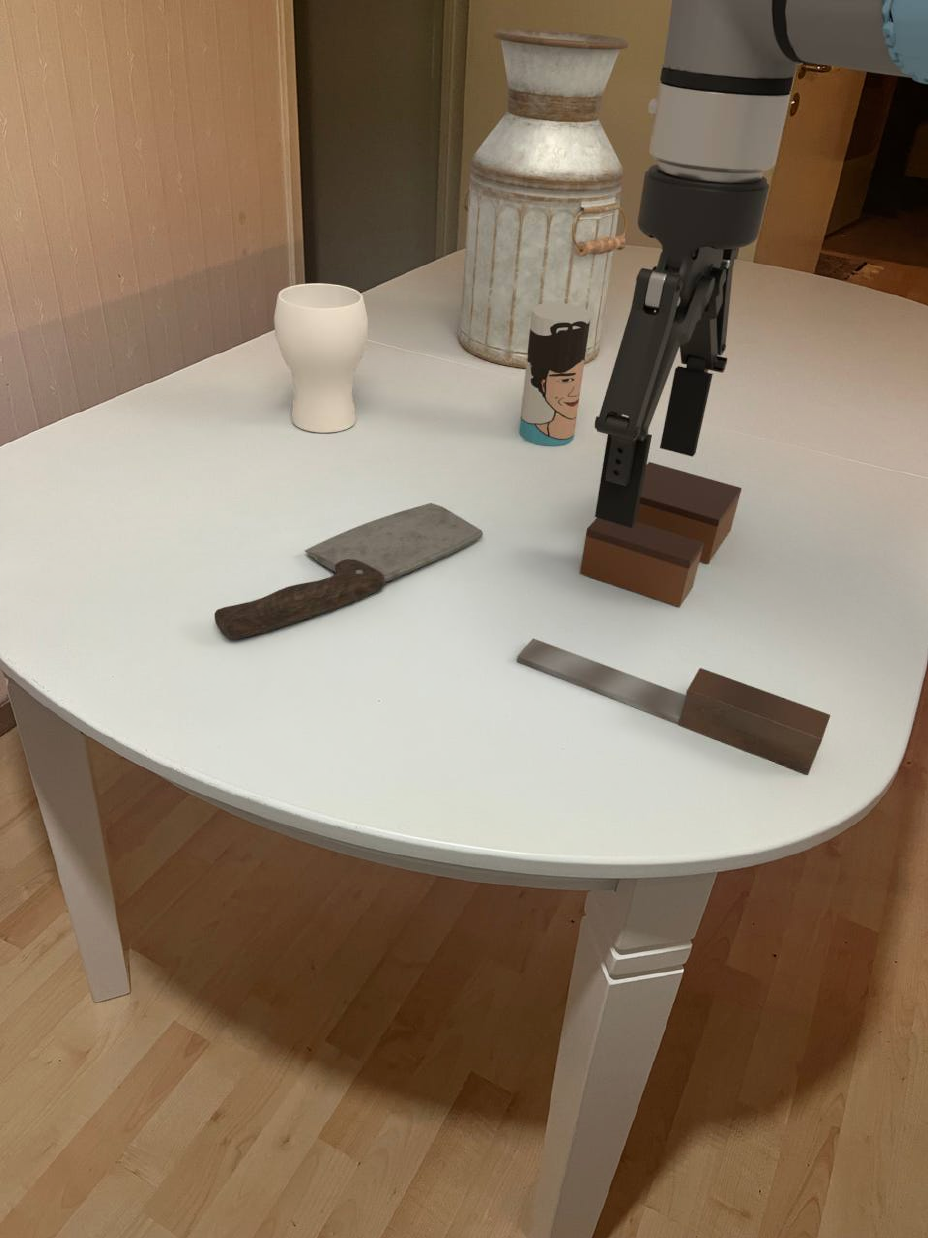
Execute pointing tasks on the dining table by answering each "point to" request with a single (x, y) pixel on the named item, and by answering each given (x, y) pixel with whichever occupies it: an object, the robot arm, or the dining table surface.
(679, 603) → the cake slice
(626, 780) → the dining table surface
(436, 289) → the dining table surface
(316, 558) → the cleaver
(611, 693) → the knife
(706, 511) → the cake
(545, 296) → the milk can
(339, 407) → the cup
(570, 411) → the cup
